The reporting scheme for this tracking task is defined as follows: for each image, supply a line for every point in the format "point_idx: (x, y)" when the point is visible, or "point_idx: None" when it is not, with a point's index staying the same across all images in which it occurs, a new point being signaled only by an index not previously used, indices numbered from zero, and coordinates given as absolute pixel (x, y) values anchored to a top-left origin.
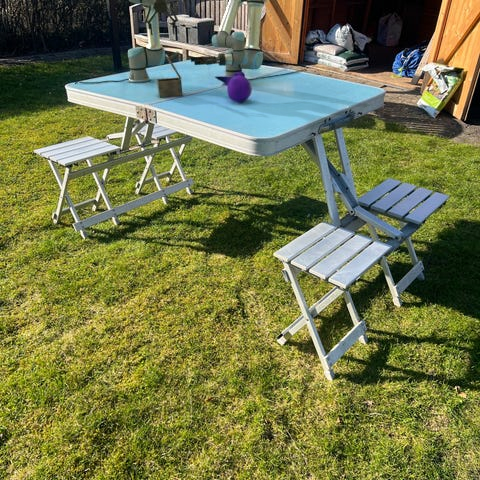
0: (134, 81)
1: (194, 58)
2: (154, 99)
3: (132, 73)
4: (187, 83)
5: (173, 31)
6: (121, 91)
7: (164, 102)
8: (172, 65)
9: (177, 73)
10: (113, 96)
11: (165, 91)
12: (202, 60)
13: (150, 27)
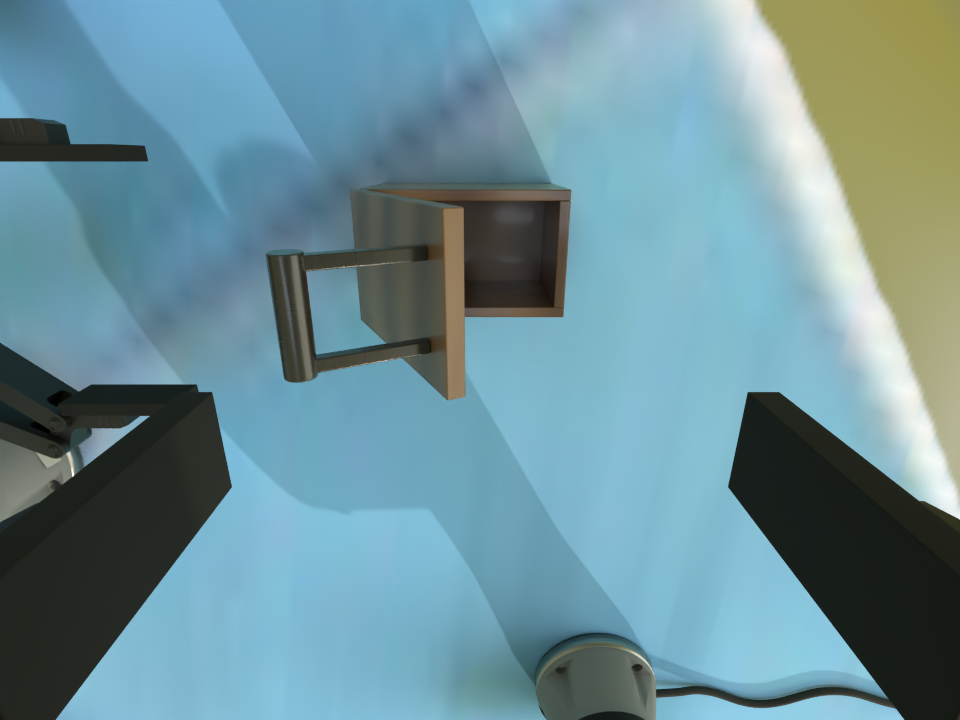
0: (630, 647)
1: (138, 398)
2: (597, 147)
3: (645, 702)
4: (322, 543)
5: (168, 422)
6: None
7: (542, 7)
8: (411, 198)
9: (377, 192)
10: (835, 343)
11: (508, 185)
12: (5, 144)
13: (921, 522)
